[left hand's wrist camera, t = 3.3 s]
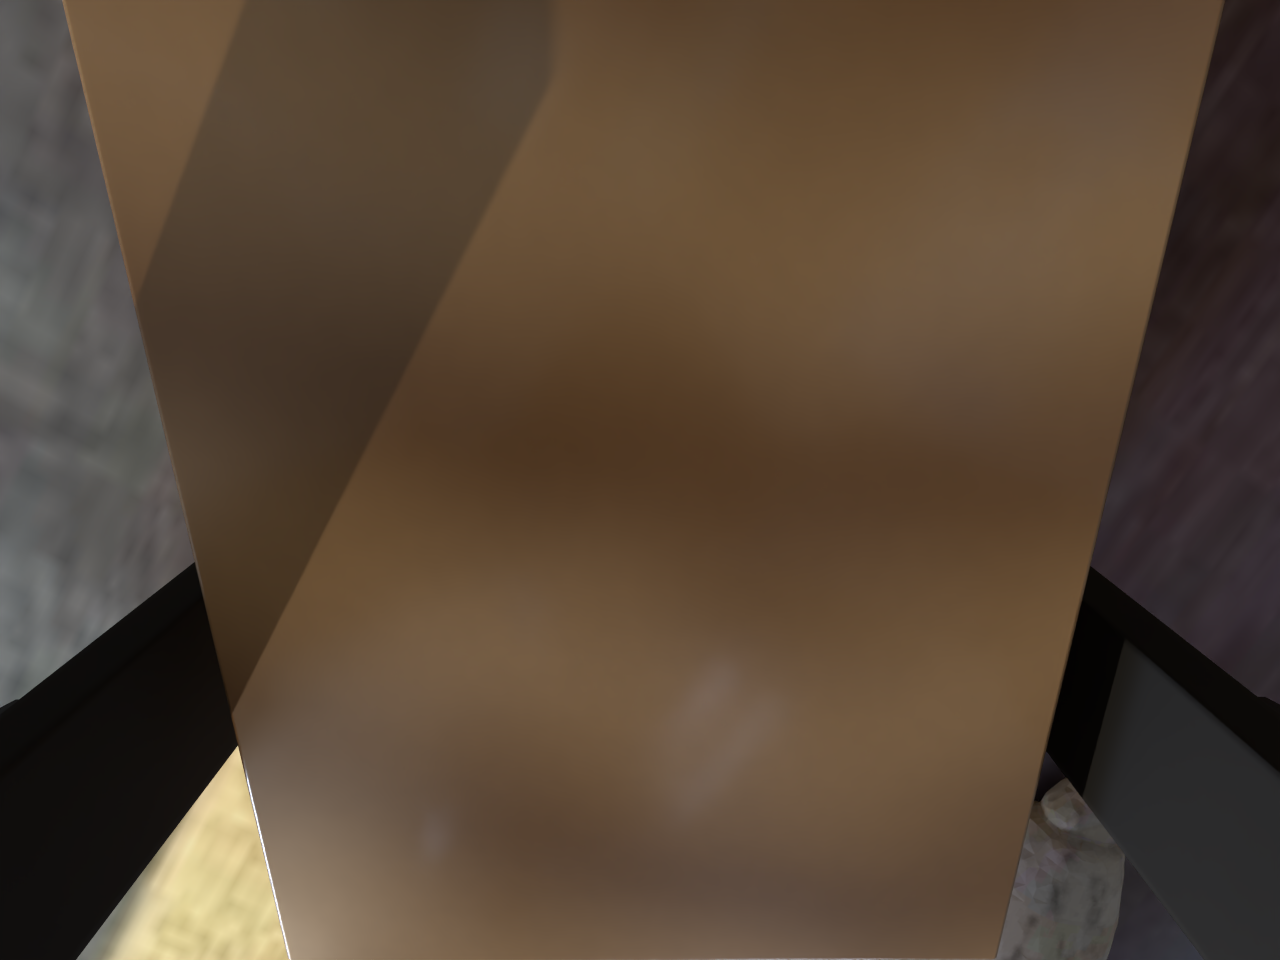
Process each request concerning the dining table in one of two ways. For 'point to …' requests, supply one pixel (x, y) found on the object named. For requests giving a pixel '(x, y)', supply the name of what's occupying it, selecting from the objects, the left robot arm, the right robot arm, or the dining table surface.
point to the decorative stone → (1064, 884)
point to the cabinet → (643, 440)
